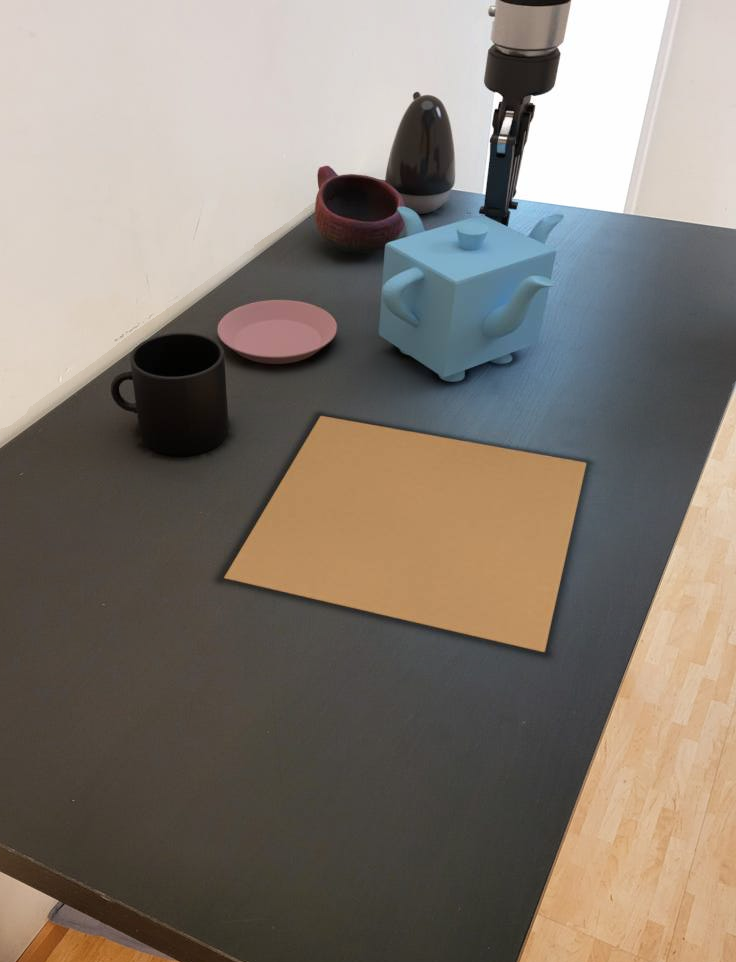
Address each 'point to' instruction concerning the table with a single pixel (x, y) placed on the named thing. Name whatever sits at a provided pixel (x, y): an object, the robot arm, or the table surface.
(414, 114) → the dark brown tall dome
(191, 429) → the mug
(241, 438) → the table surface
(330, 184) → the bowl
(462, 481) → the trivet mat
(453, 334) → the teakettle
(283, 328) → the plate
